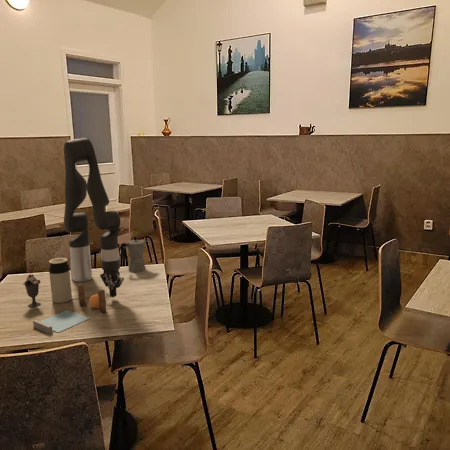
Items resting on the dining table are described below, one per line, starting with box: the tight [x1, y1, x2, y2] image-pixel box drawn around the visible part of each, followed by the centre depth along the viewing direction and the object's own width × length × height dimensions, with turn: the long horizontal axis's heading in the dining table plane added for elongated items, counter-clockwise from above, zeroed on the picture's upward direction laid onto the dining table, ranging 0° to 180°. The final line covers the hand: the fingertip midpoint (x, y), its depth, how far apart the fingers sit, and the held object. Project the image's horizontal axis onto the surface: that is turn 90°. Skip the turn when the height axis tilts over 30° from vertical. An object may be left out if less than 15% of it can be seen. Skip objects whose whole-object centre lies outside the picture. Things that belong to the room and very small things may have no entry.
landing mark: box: [39, 310, 91, 334], centre depth 161 cm, size 14×14×1 cm
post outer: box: [97, 289, 107, 314], centre depth 168 cm, size 3×3×9 cm
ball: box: [88, 293, 99, 309], centre depth 173 cm, size 6×6×6 cm
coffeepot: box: [119, 236, 148, 273], centre depth 219 cm, size 15×9×18 cm, turn 129°
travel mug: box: [48, 257, 73, 304], centre depth 181 cm, size 8×8×18 cm
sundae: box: [22, 269, 42, 308], centre depth 176 cm, size 7×7×15 cm
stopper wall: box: [32, 319, 53, 335], centre depth 154 cm, size 10×1×2 cm, turn 56°
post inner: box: [77, 283, 87, 307], centre depth 175 cm, size 3×3×9 cm
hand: (113, 296), depth 181 cm, fingers closed
